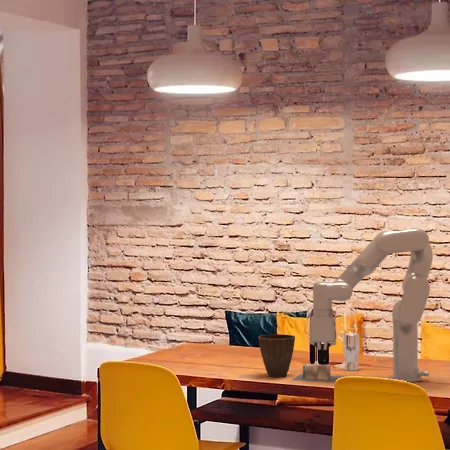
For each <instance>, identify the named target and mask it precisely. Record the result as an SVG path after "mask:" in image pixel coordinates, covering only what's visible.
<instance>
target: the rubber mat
mask: <svg viewBox="0 0 450 450" xmlns="http://www.w3.org/2000/svg"><path fill="white" fill-rule="evenodd" d="M341 377H344V376H343V375H331V378H329V379H328V380H322V379H303V373H300V374H298V375H297V376H296V377H294V378H293V379H291V381H301V382H302V381H303V382H320V383H321V382H322V383H336V382H335V381H336V380H337V379H338V378H341Z"/></svg>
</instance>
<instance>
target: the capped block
mask: <svg viewBox="0 0 450 450" xmlns="http://www.w3.org/2000/svg"><path fill="white" fill-rule="evenodd" d="M331 373H332V371H331V364H316V363H315V364H314V363H312V364H311V363H305V364H304V365H302V374H303V379H322V380H328V379H329V378H331V376H332V375H331Z"/></svg>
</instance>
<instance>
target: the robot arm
mask: <svg viewBox="0 0 450 450" xmlns="http://www.w3.org/2000/svg"><path fill="white" fill-rule="evenodd" d="M408 252H410V257H409V261H408V262H409V263H408V267H407V270H406V273H405V276H404V278H403V281H402V285H401V288H402V291H403V293H402V295H401V296H402V297H401V299H400V300H398V301H396V302H395V303H394V305H393V307H392V313H391V318H392V339H393V340H392V343H393V344H392V350H393V351H392V352H393V353H392V355H393V356H392V357H393V359H392V361H393V362H392V363H393V365H392V366H393V367H392V371H393V372H392V374H391V375H389V377H388V378H392V379H398V380H404V381H409V382H408V383H414V382H420V381H422V379H423V377H429V376H430V371H429V370H428V371H427V370H421V369H420V367H419V365H418V362H419V359H418V357H419V355H418V354H419V352H418V351H419V350H418V349H419V347H418V346H419V345H418V344H419V343H418V341H419V337H418V336H419V335H418V334H419V333H418V331H419V330H418V324H419V322H421V319H422V317H423V314H424V312H425V309H426V306H427V302H428V299H429V296H430V292H431V291H430V290H431V285H430V282H429V280H428V278H429V275H430V271H431V268H432V264H433V257H434V255H433V248H432V246H431V243H430V238H429V235H428V233H427V232H426V231H425V230H424V229H421V228H418V227H411V228H409V229H405V230H397V231H396V230H394V231H393V230H392V231H391V230H390V231H389V230H383V231H380V232H379V233H377V235H375V237H374V238H373V239H372V240H371V241H370V243H368V245H366V247H365V248H364V249H363V250H362V251H361V252H360V254H358V255H357V257H356V258H355V259H354V260H353V261H352V262H351V263H350V264H349V265H348V266H347V267H346V268H345V270H343V272H342V273H341V274H340V275H339V276H338V277H337V278H336V279H335V281H333V282H330V281H317V282H314V283H313V285H312V316H311V318H310V327H309V342H308V343H309V344H310V345H312V346H315V347H316V349H317V350H318V358H319V360H320V361H325V360H326V359H327V357H328V349H329V348H330V347H331V346H332V347H333V346H336V345H337V324H336V319H335V316H333V315H336V314H337V311H336V310H334V309H333V301H338V302H345V301H348V300H350V299H351V297H352V295H353V289H354V288H355V287H356V286H357V285H358V284H359V283H360V282H361V281H362V280H364V278H366V277H367V276H369V275H371V274H373V272H374V271H376V269H377V268H378V267H379V266H380V265H381V264H382V262H383V261H384V260H385V259H386V258H387V257H388V256H389V255H390V254H399V253H408ZM323 343H324V344H323Z"/></svg>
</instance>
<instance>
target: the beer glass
mask: <svg viewBox="0 0 450 450" xmlns="http://www.w3.org/2000/svg"><path fill="white" fill-rule="evenodd" d="M342 340H343V341H342V347H343V354H344V368H343V369H344V371H348V372H349V371H350V372H353V371H354V372H355V371H359V370H360V368H359V362H358V361H359V353H360V348H361V344H360V343H361V342H360V341H361V340H360V333H356V332H346V333H343V338H342Z"/></svg>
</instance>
